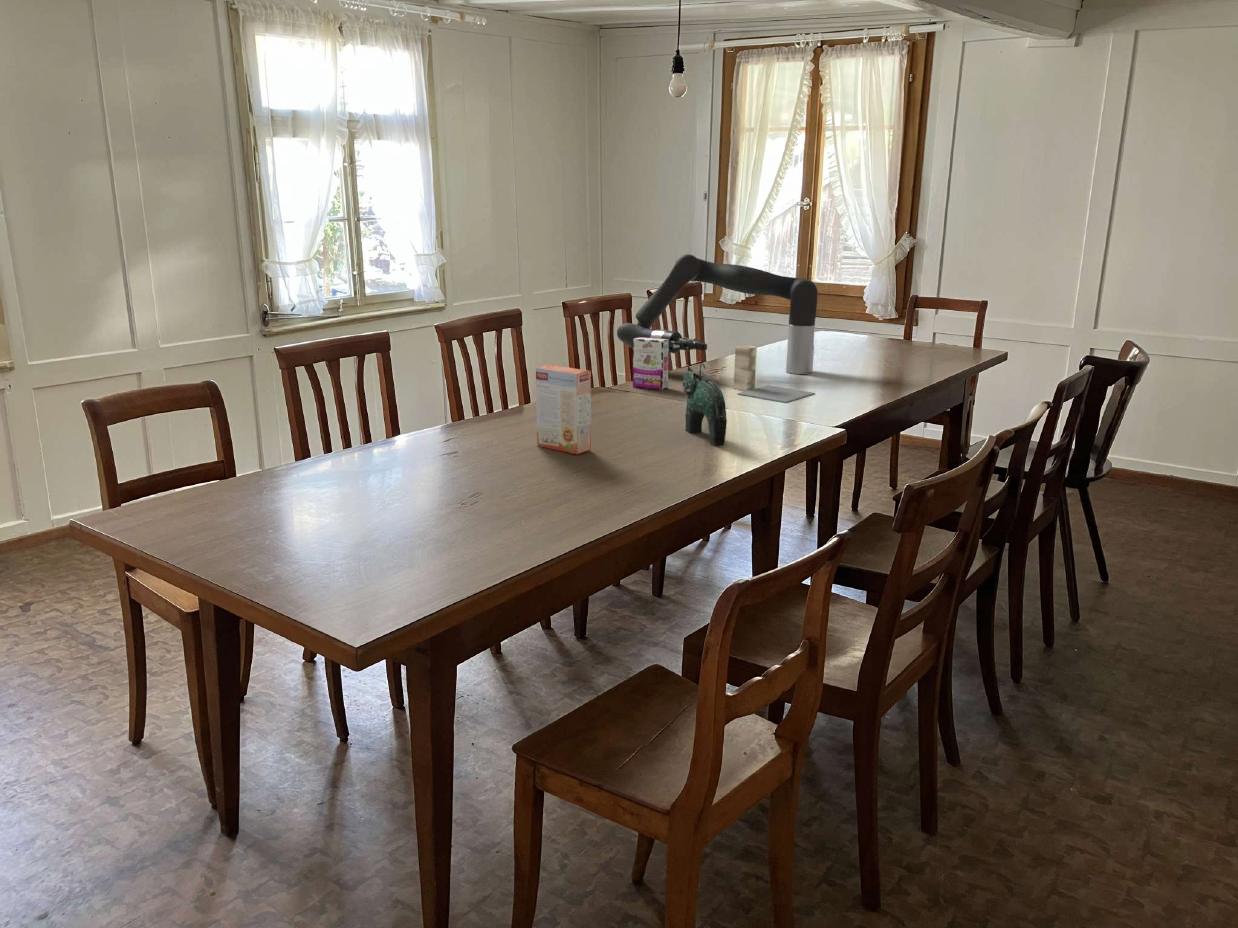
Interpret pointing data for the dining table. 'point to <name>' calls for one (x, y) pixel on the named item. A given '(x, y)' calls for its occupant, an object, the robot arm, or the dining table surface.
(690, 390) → the green animal figurine
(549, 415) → the cracker box
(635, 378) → the candy bar box
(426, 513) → the dining table surface
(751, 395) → the slate rubber mat
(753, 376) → the birch block
